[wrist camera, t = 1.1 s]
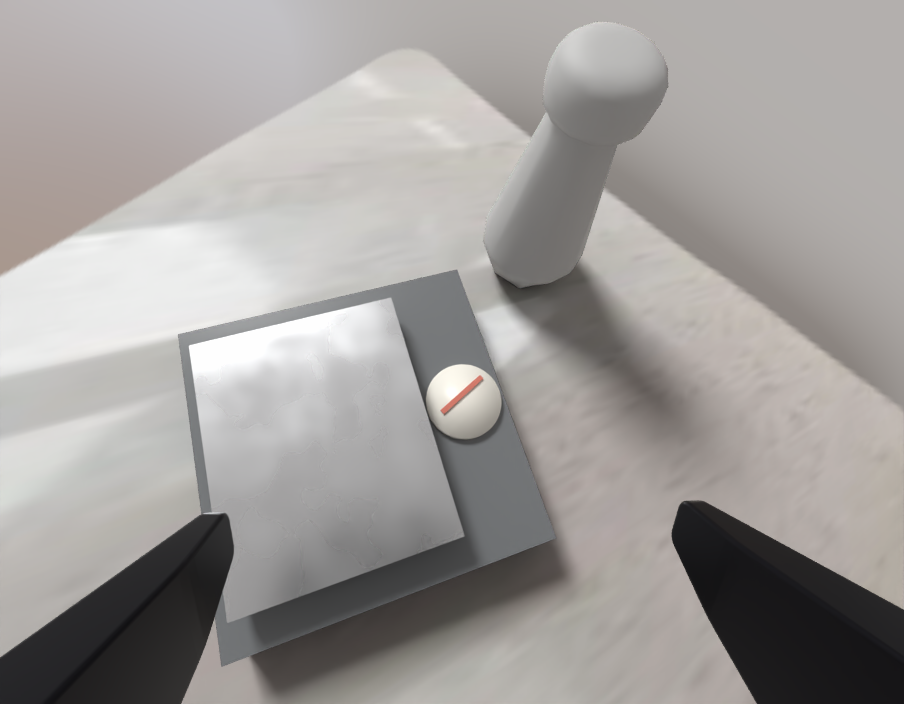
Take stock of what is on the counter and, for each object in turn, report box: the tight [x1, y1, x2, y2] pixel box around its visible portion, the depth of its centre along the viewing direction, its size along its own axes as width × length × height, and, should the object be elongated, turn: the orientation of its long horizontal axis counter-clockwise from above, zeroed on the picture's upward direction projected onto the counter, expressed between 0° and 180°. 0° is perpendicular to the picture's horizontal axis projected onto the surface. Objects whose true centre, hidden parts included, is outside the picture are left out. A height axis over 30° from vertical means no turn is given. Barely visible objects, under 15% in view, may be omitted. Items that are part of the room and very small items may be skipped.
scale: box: [178, 270, 556, 667], centre depth 20 cm, size 14×14×3 cm
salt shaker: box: [483, 22, 668, 289], centre depth 21 cm, size 6×6×13 cm
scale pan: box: [189, 298, 464, 623], centre depth 18 cm, size 11×9×1 cm
